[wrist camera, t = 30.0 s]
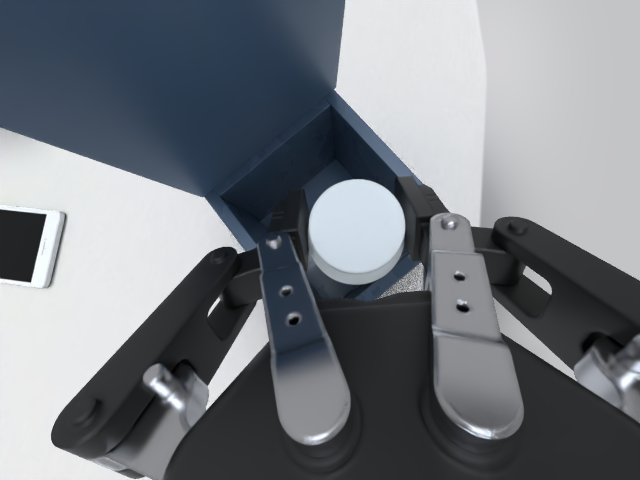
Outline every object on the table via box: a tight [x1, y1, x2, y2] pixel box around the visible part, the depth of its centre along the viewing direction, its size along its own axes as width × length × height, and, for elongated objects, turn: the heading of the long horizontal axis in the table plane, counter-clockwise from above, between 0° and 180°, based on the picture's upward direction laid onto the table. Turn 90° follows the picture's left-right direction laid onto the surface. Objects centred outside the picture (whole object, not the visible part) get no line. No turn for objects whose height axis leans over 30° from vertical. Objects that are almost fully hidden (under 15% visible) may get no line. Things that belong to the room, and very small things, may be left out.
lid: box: [0, 0, 345, 197], centre depth 10 cm, size 12×11×5 cm
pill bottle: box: [308, 179, 405, 285], centre depth 13 cm, size 4×4×8 cm
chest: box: [204, 89, 450, 301], centre depth 20 cm, size 12×11×9 cm
